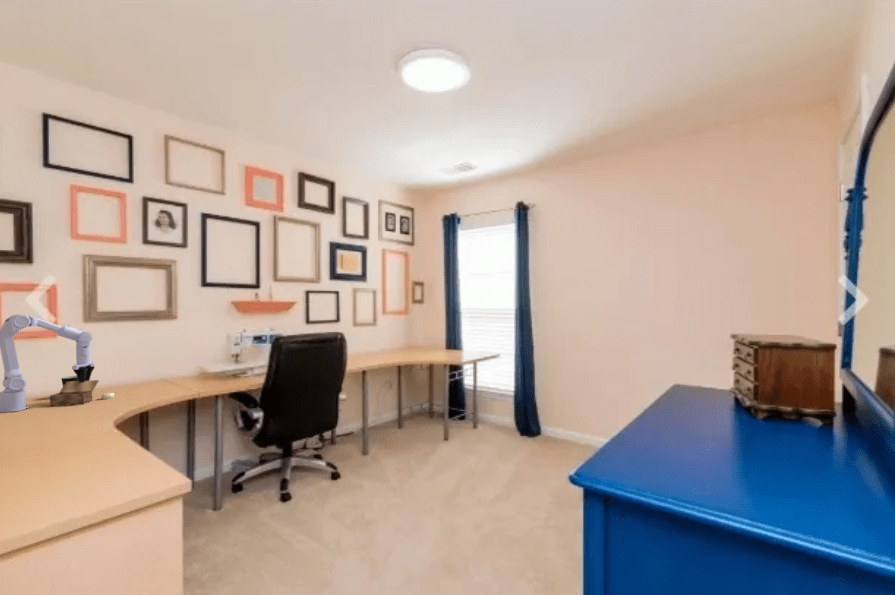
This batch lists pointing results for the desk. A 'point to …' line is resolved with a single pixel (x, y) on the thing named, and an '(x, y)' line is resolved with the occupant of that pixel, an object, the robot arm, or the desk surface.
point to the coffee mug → (69, 379)
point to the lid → (79, 386)
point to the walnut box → (71, 398)
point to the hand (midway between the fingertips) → (84, 381)
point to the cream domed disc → (107, 396)
